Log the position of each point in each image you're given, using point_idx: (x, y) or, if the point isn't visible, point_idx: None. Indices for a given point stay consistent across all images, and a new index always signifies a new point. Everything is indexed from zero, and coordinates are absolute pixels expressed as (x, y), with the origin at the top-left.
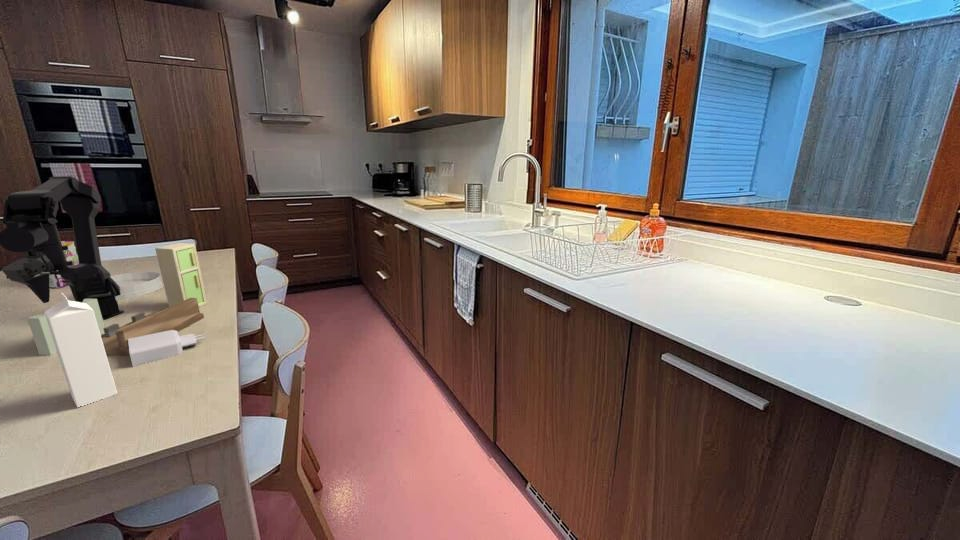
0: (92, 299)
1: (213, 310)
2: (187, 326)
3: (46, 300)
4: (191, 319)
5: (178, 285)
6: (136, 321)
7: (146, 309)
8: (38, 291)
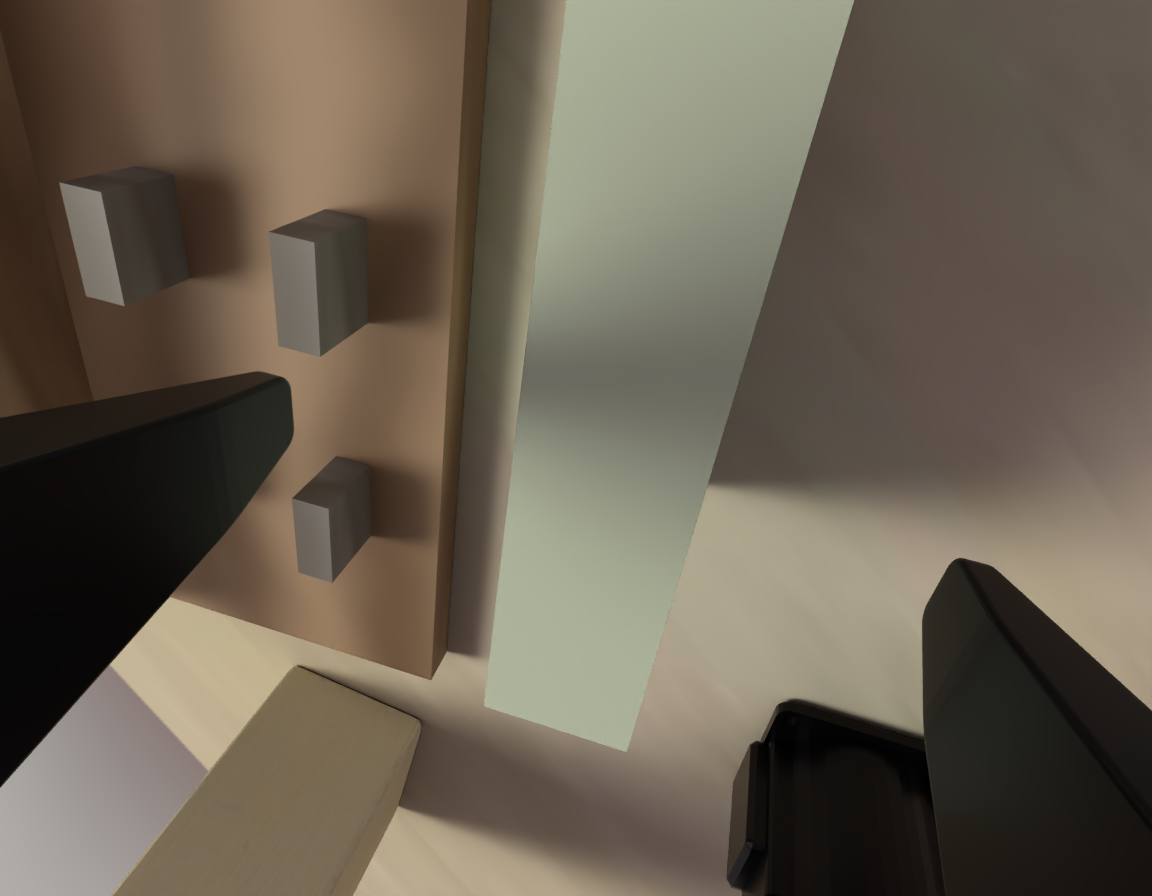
0: (515, 695)
1: (161, 649)
2: None
3: (944, 614)
4: None
5: (159, 866)
6: (319, 475)
7: (610, 795)
8: (1084, 785)
